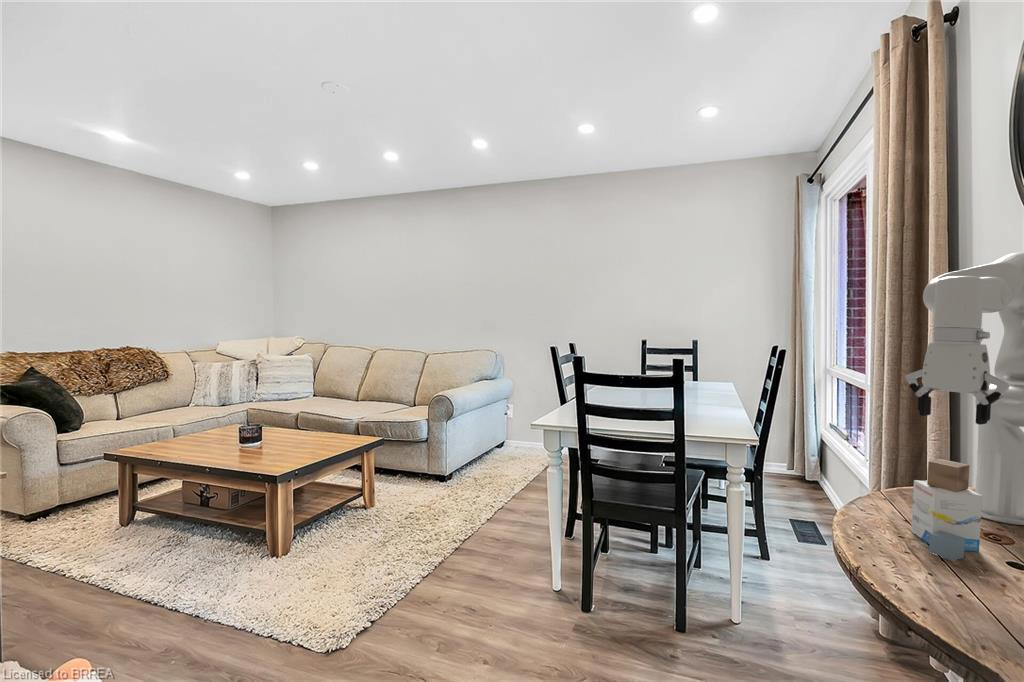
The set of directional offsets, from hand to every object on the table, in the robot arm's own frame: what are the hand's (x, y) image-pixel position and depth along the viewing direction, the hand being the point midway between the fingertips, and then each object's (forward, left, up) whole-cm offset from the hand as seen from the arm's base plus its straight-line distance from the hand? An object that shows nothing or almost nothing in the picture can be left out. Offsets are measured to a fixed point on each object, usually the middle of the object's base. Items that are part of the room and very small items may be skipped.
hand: (952, 419), depth 108 cm
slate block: (+8, +3, -26) cm, 27 cm away
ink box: (0, 0, -26) cm, 26 cm away
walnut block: (0, 0, -14) cm, 14 cm away
